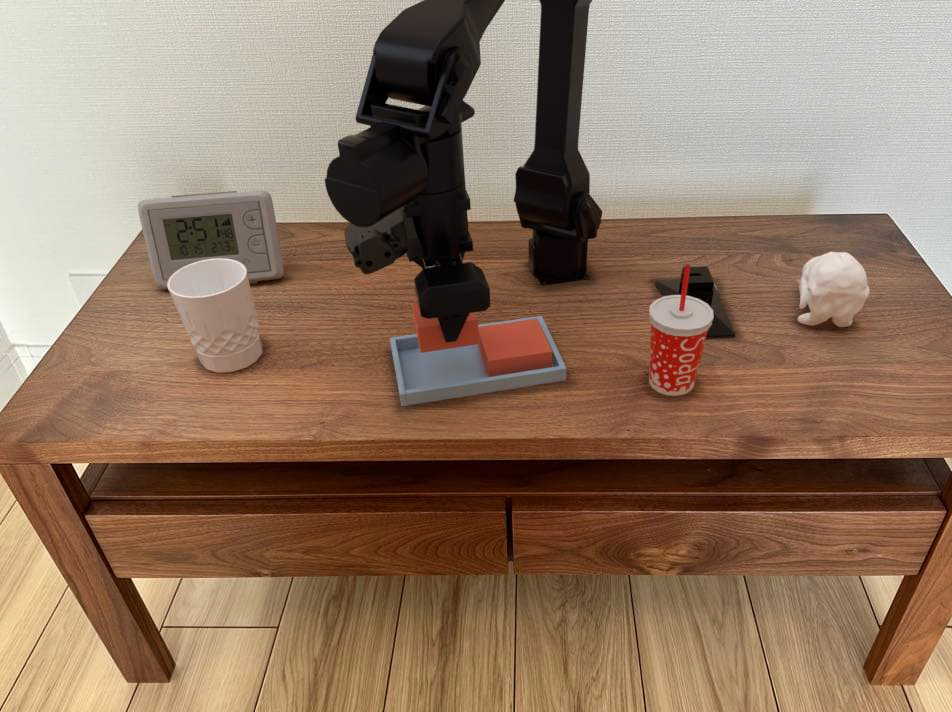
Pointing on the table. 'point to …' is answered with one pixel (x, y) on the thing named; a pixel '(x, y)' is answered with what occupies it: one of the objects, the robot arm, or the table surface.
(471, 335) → the loose pad
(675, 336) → the beverage cup
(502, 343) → the pad
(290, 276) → the table surface
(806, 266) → the white lumpy figurine
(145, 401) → the table surface
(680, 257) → the table surface
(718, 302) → the black stand
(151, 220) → the digital clock
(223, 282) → the white cup
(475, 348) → the tray
